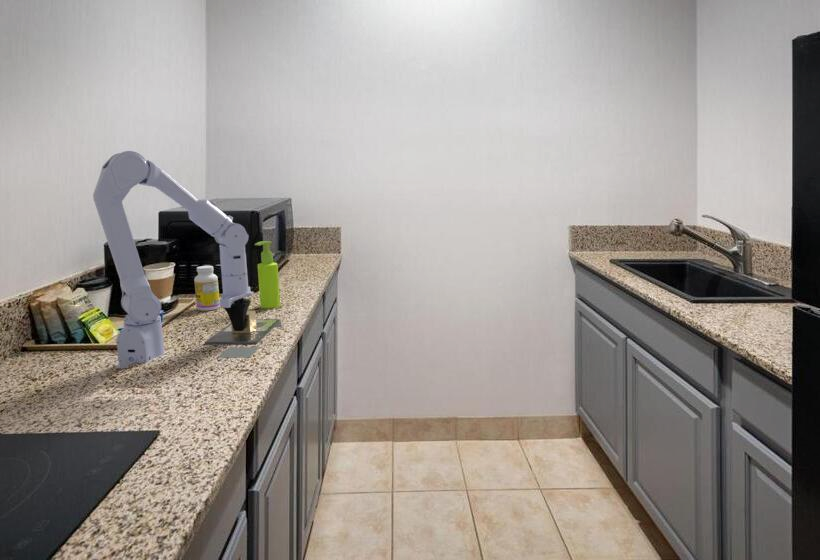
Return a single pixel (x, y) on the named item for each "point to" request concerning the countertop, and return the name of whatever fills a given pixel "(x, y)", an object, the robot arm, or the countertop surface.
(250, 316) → the block
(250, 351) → the grey square pad
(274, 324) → the plate
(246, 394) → the countertop surface
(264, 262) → the soap dispenser
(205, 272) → the supplement bottle
